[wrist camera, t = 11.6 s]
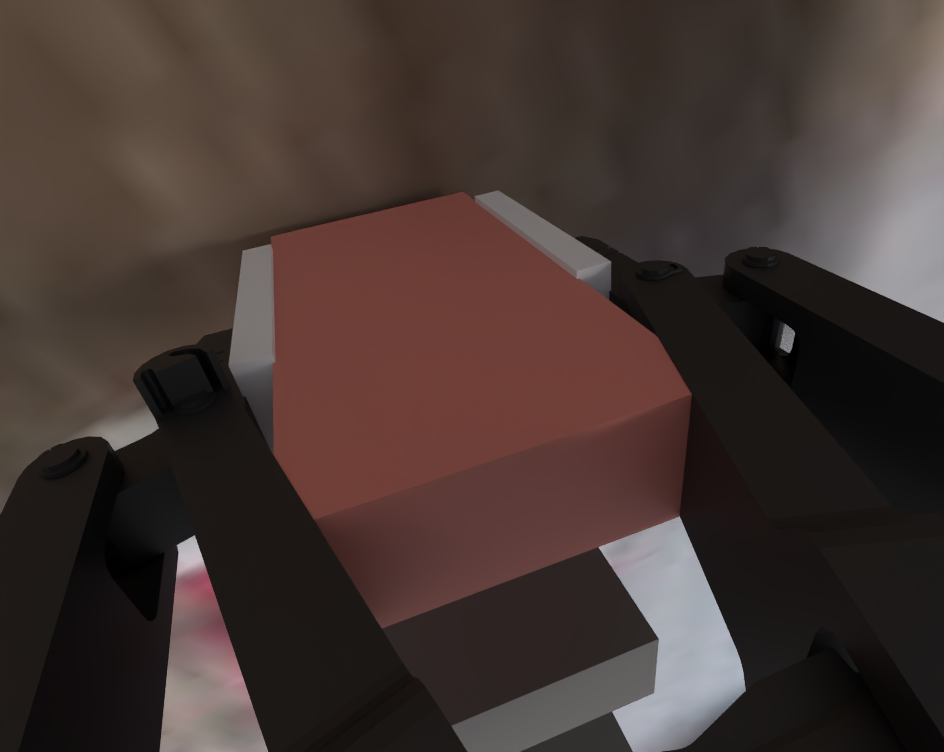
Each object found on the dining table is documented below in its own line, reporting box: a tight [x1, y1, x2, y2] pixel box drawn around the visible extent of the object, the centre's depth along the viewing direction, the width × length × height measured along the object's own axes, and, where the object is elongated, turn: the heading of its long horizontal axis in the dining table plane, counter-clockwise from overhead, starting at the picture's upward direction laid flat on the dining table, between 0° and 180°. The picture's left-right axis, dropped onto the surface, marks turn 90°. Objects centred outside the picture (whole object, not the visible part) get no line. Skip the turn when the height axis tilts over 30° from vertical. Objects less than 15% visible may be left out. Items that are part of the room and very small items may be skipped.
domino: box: [382, 547, 659, 752], centre depth 17 cm, size 2×6×12 cm, turn 98°
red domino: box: [271, 192, 692, 628], centre depth 12 cm, size 2×6×12 cm, turn 98°
